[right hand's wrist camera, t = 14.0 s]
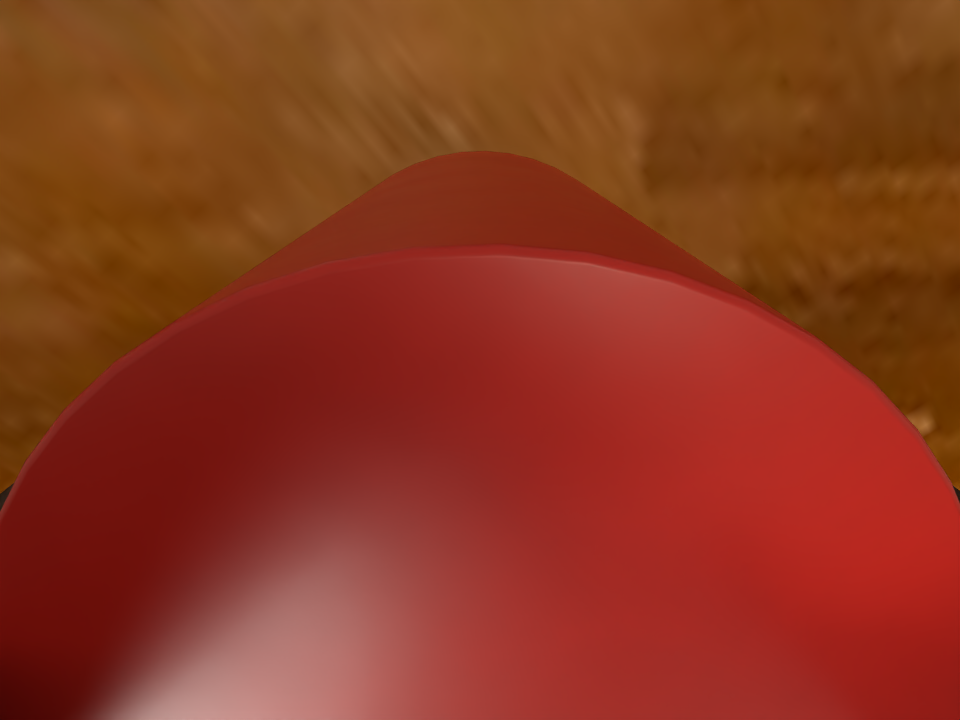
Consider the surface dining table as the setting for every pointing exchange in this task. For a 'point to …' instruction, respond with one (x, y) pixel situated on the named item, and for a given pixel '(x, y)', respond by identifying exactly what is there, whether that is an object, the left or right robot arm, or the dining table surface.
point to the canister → (481, 490)
